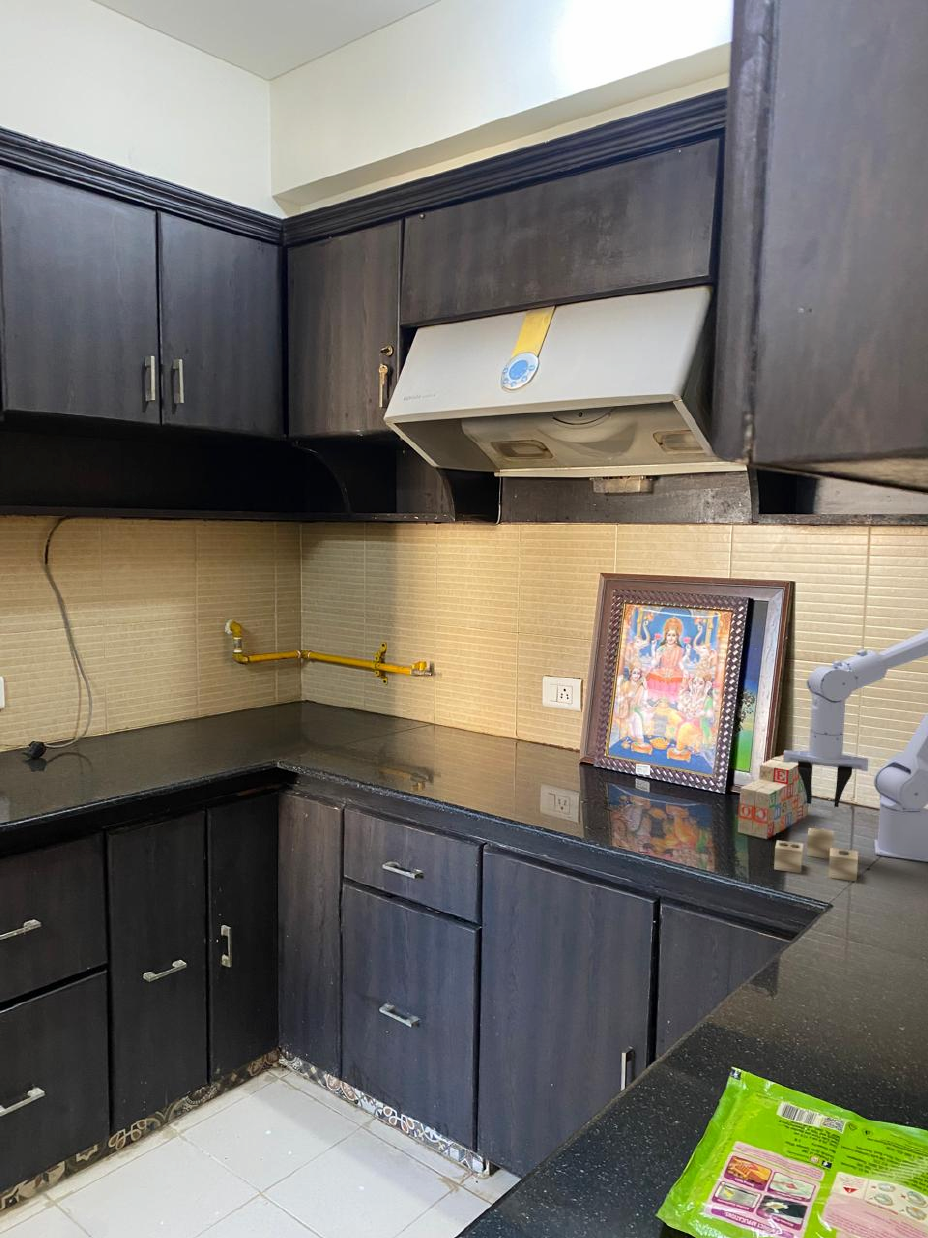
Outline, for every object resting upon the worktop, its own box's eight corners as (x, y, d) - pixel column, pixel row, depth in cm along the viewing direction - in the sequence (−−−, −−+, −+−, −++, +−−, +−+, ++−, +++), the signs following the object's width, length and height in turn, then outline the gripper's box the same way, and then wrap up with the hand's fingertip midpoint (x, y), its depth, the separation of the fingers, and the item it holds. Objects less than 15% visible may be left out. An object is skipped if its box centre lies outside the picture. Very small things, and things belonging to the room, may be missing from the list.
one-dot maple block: (856, 873, 163) (857, 850, 163) (856, 882, 159) (857, 858, 158) (829, 869, 165) (830, 846, 164) (828, 878, 161) (829, 855, 160)
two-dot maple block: (802, 865, 166) (803, 843, 166) (800, 873, 162) (802, 851, 162) (775, 861, 168) (777, 839, 168) (774, 869, 164) (775, 847, 164)
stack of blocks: (767, 840, 179) (770, 778, 178) (736, 833, 184) (739, 772, 182) (808, 815, 196) (811, 758, 194) (779, 809, 200) (782, 753, 198)
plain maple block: (833, 851, 174) (834, 831, 173) (832, 859, 170) (833, 838, 169) (807, 848, 175) (808, 827, 175) (806, 856, 171) (807, 835, 171)
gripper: (869, 731, 171) (864, 803, 172) (786, 724, 177) (783, 793, 178) (869, 739, 165) (865, 813, 166) (784, 731, 170) (780, 803, 172)
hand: (822, 804), depth 172 cm, fingers open, 4 cm apart
